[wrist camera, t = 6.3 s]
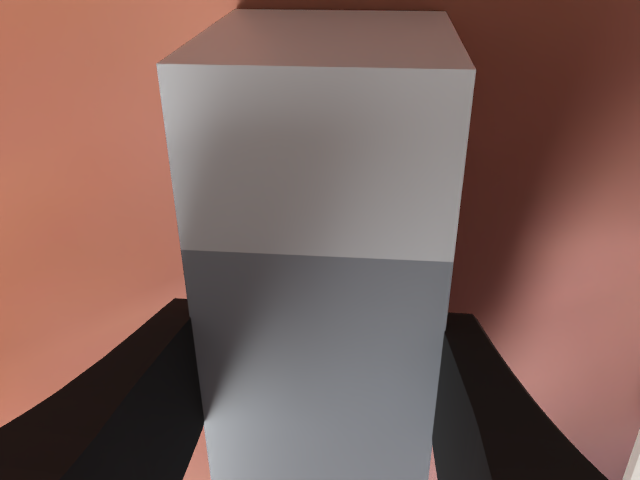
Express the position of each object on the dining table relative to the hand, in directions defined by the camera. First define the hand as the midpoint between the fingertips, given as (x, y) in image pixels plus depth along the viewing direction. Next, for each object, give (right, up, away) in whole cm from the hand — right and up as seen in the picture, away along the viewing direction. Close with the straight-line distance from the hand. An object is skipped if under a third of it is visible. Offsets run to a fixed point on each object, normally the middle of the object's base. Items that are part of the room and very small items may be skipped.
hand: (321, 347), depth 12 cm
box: (0, +2, +4) cm, 4 cm away
